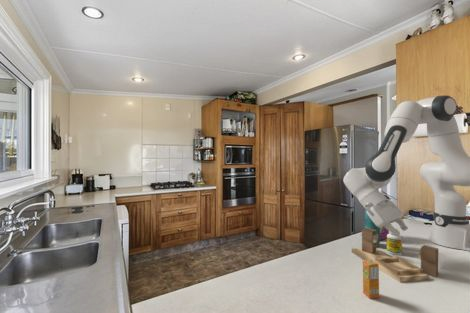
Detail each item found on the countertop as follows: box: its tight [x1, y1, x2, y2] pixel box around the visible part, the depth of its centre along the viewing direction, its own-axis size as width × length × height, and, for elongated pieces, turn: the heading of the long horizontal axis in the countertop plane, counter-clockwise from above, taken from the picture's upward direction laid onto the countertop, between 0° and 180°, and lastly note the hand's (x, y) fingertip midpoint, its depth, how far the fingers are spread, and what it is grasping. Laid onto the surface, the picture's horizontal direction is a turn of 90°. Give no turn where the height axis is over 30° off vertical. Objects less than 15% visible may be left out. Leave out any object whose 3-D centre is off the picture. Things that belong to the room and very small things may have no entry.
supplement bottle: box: [386, 229, 403, 256], centre depth 100 cm, size 5×5×10 cm
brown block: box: [418, 244, 439, 278], centre depth 83 cm, size 4×5×9 cm
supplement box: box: [362, 259, 380, 299], centre depth 69 cm, size 3×4×10 cm
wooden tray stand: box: [351, 227, 429, 283], centre depth 89 cm, size 11×24×10 cm, turn 10°
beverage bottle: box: [364, 209, 381, 245], centre depth 108 cm, size 6×7×20 cm
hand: (402, 232), depth 89 cm, fingers open, 8 cm apart
